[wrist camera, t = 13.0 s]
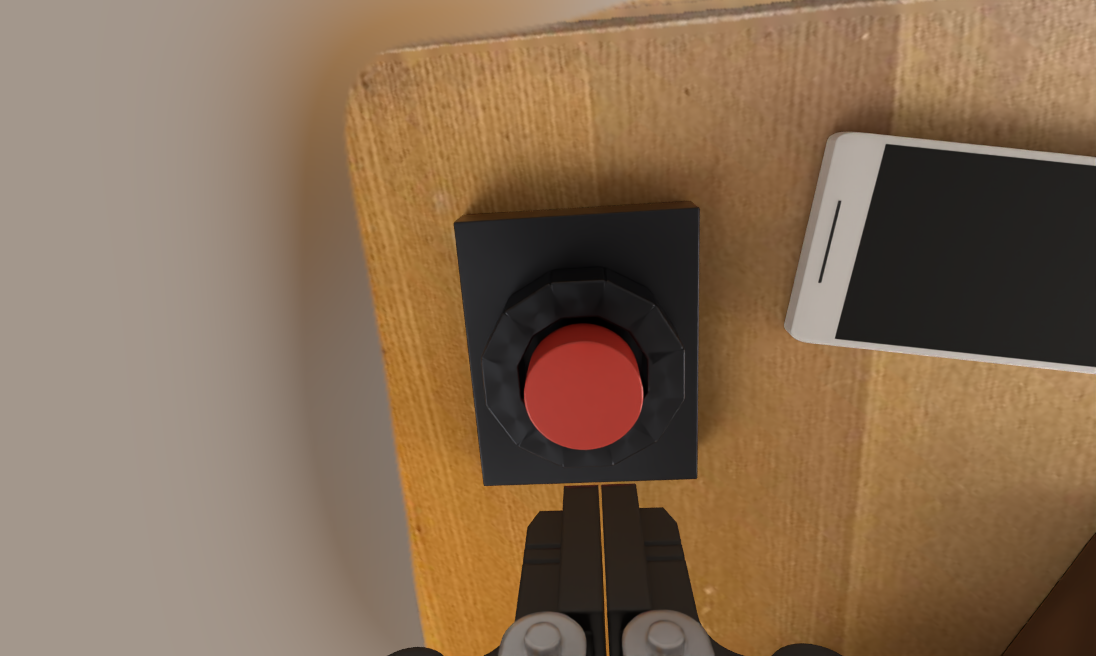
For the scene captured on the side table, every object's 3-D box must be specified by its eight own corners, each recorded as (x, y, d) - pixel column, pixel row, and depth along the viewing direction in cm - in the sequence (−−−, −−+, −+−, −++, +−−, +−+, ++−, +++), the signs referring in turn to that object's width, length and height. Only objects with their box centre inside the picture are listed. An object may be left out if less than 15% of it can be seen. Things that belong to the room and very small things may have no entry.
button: (523, 325, 20) (519, 344, 19) (637, 320, 20) (642, 338, 18) (532, 426, 21) (528, 452, 20) (639, 422, 21) (644, 448, 19)
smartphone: (1207, 379, 23) (1233, 390, 22) (781, 333, 23) (789, 342, 22) (1302, 178, 21) (1335, 181, 20) (828, 129, 21) (840, 129, 20)
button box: (462, 214, 22) (441, 231, 19) (691, 200, 22) (711, 215, 18) (489, 463, 25) (476, 515, 22) (689, 456, 25) (706, 508, 22)
